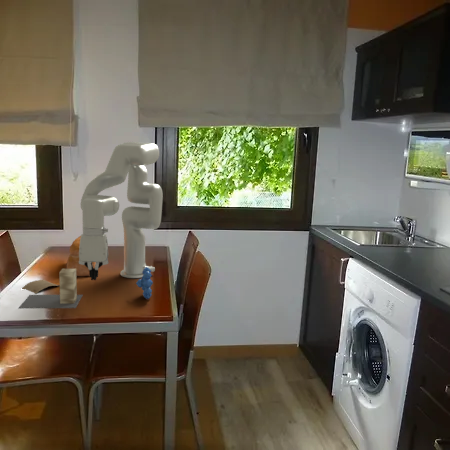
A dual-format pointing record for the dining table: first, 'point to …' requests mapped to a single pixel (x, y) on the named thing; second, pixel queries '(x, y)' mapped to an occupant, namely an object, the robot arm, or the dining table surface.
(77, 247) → the bread
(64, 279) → the birch block
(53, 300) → the rubber mat
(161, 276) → the dining table surface
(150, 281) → the grapes
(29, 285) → the clay tablet
